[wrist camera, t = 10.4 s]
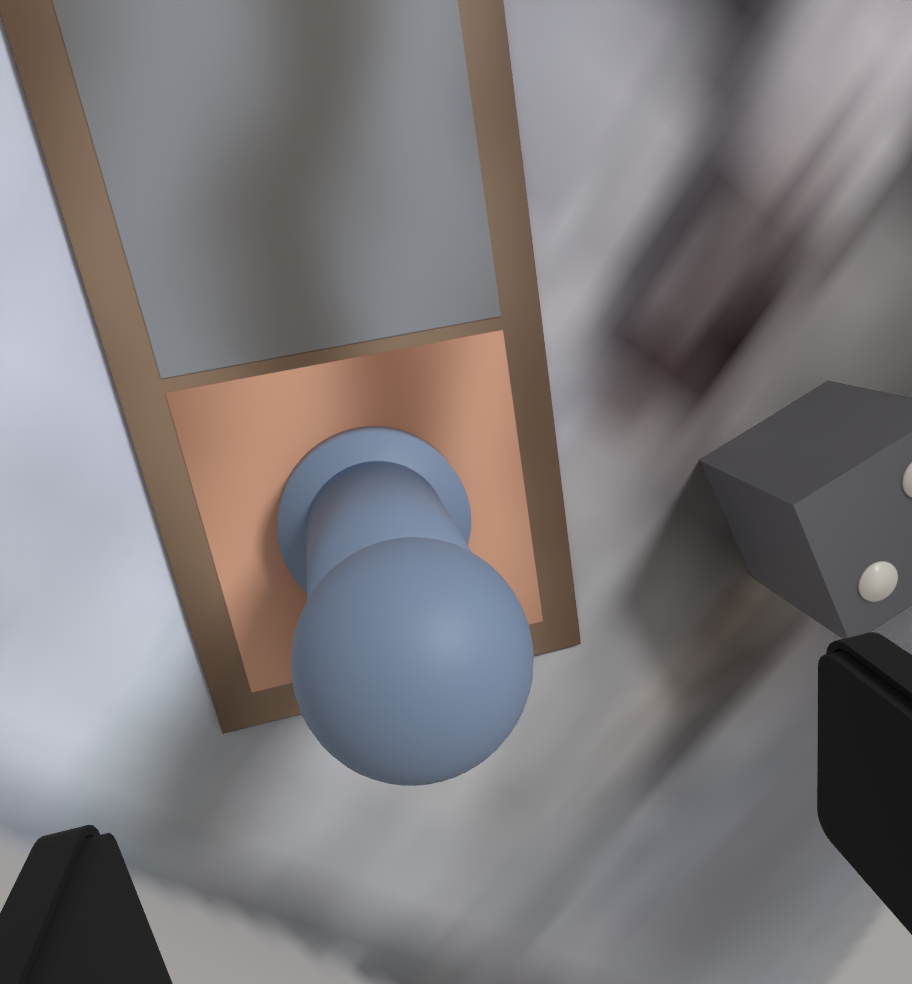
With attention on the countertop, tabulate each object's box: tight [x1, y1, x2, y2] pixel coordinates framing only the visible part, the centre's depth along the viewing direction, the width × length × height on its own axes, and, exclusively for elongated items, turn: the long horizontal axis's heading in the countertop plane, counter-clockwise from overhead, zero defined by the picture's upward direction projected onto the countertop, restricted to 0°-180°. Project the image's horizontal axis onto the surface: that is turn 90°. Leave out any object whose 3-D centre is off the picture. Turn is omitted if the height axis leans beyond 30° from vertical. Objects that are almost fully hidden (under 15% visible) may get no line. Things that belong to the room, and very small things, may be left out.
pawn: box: [277, 426, 534, 786], centre depth 17 cm, size 6×6×11 cm
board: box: [0, 0, 581, 734], centre depth 19 cm, size 12×32×1 cm, turn 10°
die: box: [699, 381, 912, 639], centre depth 23 cm, size 5×5×5 cm
